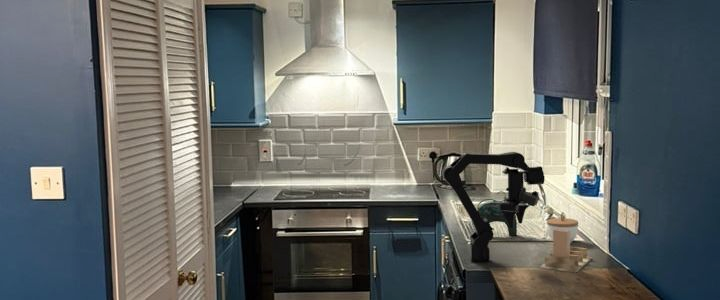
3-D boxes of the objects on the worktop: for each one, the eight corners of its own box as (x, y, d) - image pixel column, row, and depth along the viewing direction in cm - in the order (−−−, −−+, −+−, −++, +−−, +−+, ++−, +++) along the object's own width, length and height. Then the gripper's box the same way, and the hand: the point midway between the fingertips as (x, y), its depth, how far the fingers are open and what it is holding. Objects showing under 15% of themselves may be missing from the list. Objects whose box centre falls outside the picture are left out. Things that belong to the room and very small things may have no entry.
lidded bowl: (581, 240, 270) (581, 215, 269) (573, 247, 259) (573, 220, 258) (552, 237, 277) (551, 212, 276) (543, 243, 266) (542, 217, 265)
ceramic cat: (518, 234, 286) (518, 190, 284) (521, 237, 280) (521, 192, 278) (474, 234, 288) (473, 190, 286) (475, 237, 281) (475, 193, 280)
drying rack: (540, 267, 231) (540, 256, 230) (557, 254, 248) (557, 244, 248) (576, 272, 223) (576, 261, 223) (591, 258, 241) (591, 248, 240)
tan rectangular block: (567, 267, 228) (567, 231, 227) (553, 265, 230) (553, 230, 229) (569, 265, 231) (569, 230, 230) (556, 263, 233) (556, 228, 232)
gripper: (528, 189, 229) (528, 232, 230) (544, 183, 244) (544, 223, 246) (498, 188, 235) (499, 229, 236) (516, 181, 250) (516, 220, 252)
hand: (516, 225), depth 242 cm, fingers open, 9 cm apart
